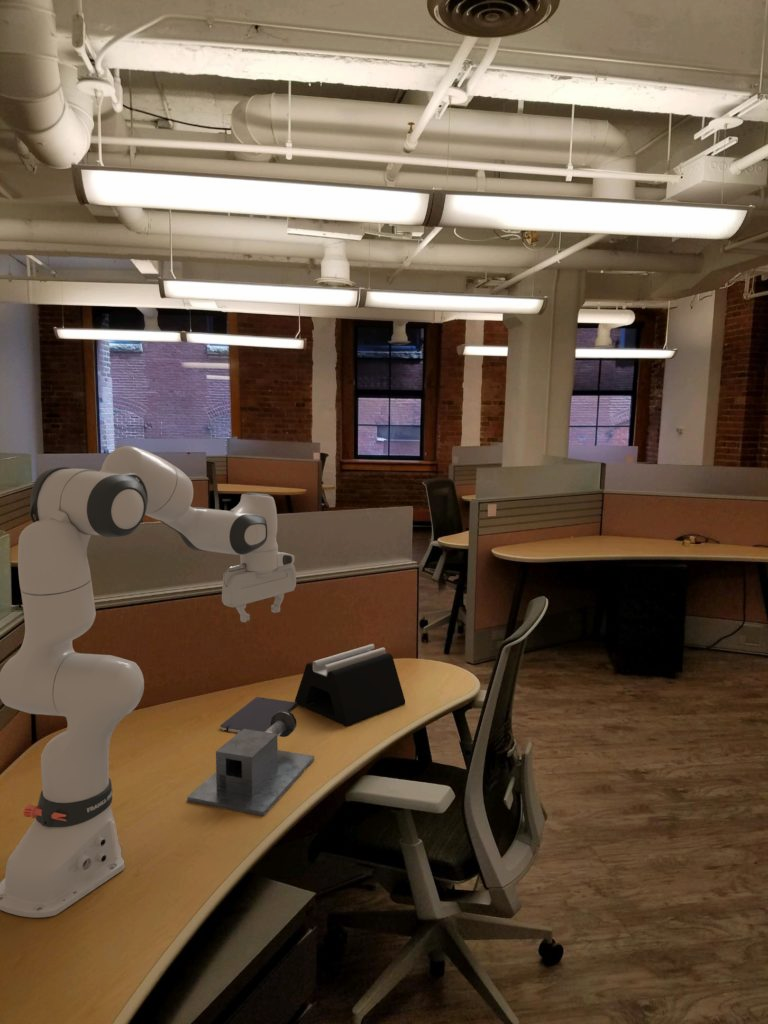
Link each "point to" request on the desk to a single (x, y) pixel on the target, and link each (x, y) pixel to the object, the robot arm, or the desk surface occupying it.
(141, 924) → the desk surface
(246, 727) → the paper product
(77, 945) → the desk surface
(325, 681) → the device stand
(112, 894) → the desk surface
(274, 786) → the bearing housing
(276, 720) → the shaft
